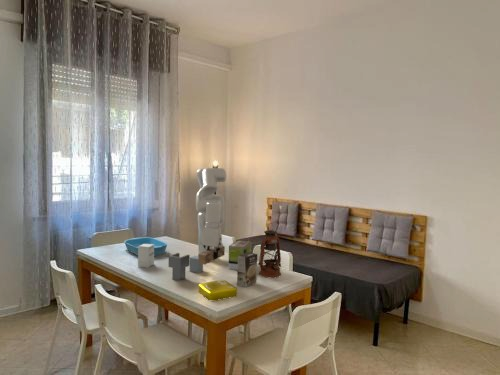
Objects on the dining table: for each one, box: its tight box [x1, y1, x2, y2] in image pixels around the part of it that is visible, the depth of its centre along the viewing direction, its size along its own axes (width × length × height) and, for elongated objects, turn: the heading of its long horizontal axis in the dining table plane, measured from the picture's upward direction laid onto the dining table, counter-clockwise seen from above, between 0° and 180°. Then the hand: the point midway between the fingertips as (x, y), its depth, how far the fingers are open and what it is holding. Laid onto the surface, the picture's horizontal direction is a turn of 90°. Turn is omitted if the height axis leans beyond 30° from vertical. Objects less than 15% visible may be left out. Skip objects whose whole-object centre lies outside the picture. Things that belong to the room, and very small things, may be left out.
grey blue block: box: [189, 255, 204, 274], centre depth 216 cm, size 5×6×8 cm
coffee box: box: [236, 252, 258, 288], centre depth 196 cm, size 9×6×16 cm
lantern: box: [257, 222, 282, 279], centre depth 213 cm, size 17×13×30 cm
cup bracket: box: [168, 252, 191, 281], centre depth 201 cm, size 8×8×13 cm
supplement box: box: [137, 244, 155, 268], centre depth 224 cm, size 7×7×13 cm
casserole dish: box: [123, 236, 168, 257], centre depth 257 cm, size 37×22×7 cm, turn 39°
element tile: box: [198, 279, 238, 301], centre depth 181 cm, size 15×15×5 cm
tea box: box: [228, 240, 252, 271], centre depth 227 cm, size 15×10×15 cm
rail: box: [197, 245, 226, 266], centre depth 200 cm, size 20×4×5 cm, turn 153°
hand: (211, 257), depth 200 cm, fingers closed on rail, 4 cm apart
